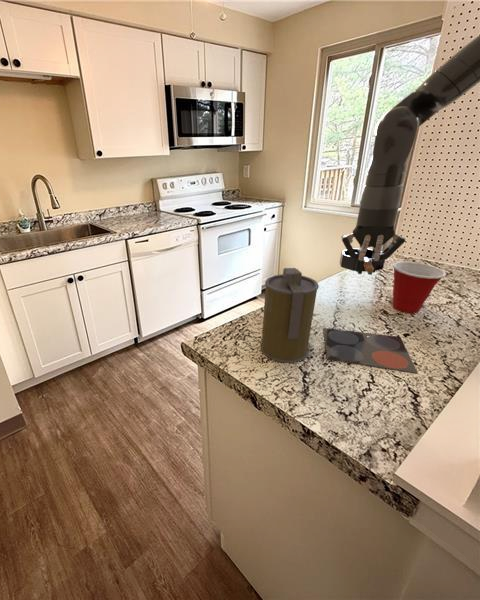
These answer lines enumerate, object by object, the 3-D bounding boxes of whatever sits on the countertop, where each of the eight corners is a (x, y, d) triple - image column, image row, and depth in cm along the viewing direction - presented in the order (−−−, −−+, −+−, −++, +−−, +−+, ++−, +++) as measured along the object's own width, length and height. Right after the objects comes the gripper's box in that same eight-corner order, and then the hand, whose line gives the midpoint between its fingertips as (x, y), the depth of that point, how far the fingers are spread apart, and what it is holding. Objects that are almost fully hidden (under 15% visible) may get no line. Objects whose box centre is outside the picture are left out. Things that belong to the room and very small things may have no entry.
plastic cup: (433, 321, 79) (449, 277, 73) (381, 312, 85) (392, 271, 80) (431, 304, 86) (445, 263, 81) (383, 297, 92) (393, 258, 87)
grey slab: (399, 337, 74) (400, 336, 74) (417, 373, 63) (417, 372, 62) (323, 328, 80) (323, 327, 80) (327, 359, 69) (327, 358, 69)
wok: (378, 260, 88) (381, 247, 86) (391, 284, 74) (395, 268, 72) (338, 259, 92) (340, 246, 90) (344, 281, 78) (347, 266, 76)
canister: (256, 337, 79) (262, 264, 71) (300, 337, 77) (311, 262, 69) (264, 363, 70) (272, 282, 61) (314, 364, 68) (329, 280, 59)
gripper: (346, 208, 73) (335, 277, 80) (420, 207, 67) (400, 280, 75) (343, 203, 79) (333, 267, 86) (411, 201, 73) (393, 269, 81)
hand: (364, 273), depth 80 cm, fingers closed on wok
